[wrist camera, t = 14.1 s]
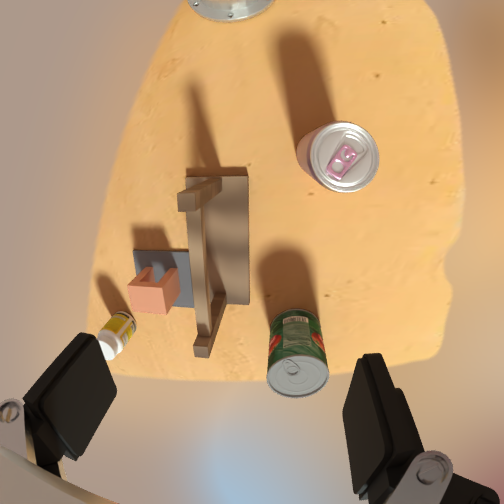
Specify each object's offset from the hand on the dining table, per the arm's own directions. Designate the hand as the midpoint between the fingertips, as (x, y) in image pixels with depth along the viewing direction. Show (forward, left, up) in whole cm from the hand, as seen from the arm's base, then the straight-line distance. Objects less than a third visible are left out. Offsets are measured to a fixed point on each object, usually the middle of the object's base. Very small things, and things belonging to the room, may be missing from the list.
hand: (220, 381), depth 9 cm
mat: (+11, -15, -30) cm, 36 cm away
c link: (+11, -15, -30) cm, 35 cm away
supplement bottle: (+20, -24, -31) cm, 44 cm away
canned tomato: (+19, +5, -31) cm, 36 cm away
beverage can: (-7, +7, -31) cm, 32 cm away
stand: (+5, -6, -30) cm, 31 cm away
